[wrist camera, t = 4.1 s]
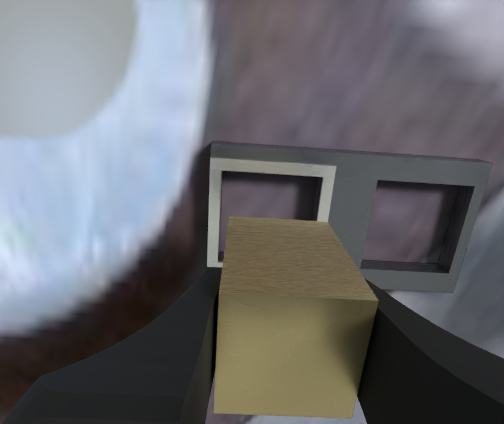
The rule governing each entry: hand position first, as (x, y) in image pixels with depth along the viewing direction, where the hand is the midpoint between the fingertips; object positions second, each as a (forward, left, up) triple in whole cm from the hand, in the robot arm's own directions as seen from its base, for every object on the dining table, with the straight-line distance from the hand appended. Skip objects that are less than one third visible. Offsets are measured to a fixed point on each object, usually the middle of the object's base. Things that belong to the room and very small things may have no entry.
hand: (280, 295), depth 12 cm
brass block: (0, 0, -3) cm, 3 cm away
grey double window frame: (-4, 0, -9) cm, 10 cm away
